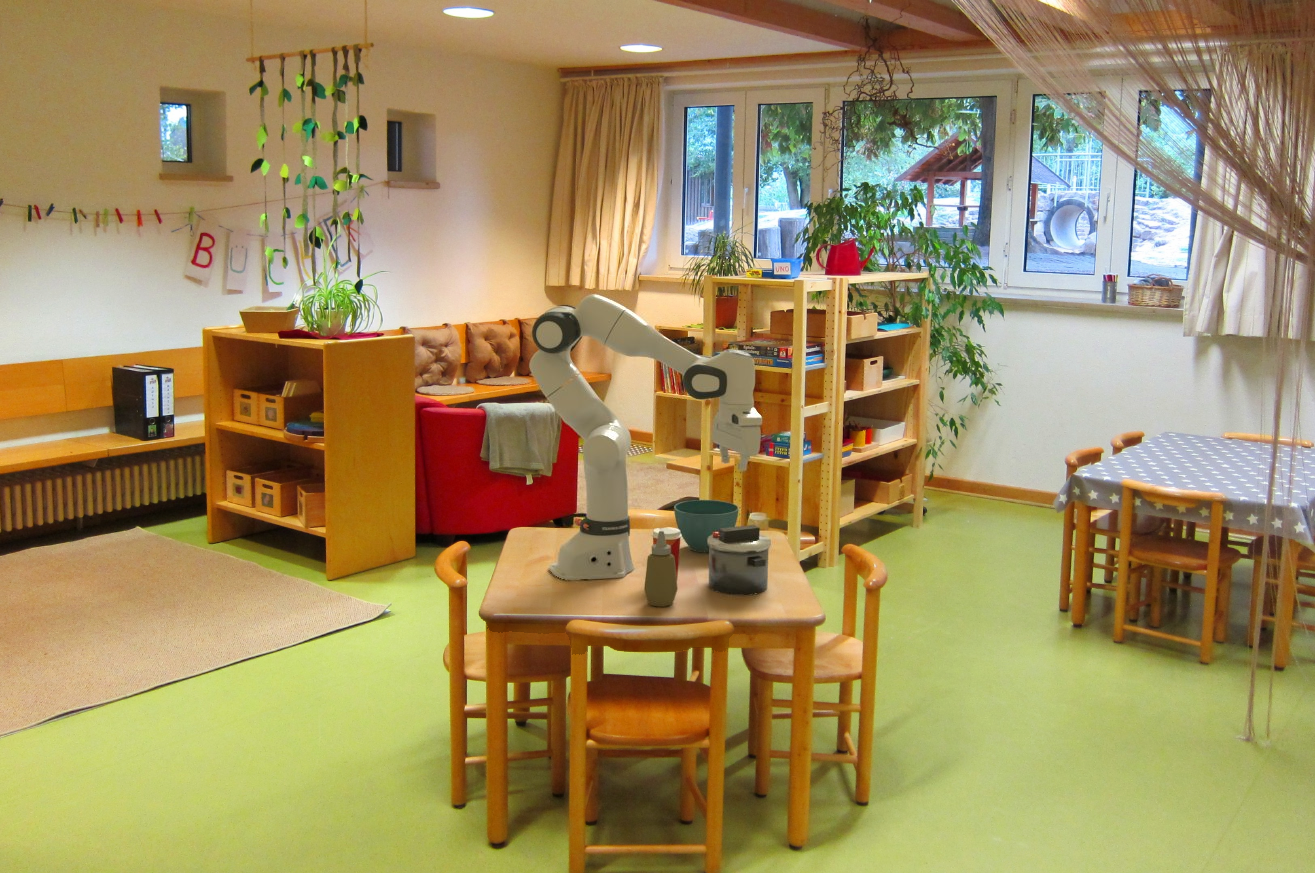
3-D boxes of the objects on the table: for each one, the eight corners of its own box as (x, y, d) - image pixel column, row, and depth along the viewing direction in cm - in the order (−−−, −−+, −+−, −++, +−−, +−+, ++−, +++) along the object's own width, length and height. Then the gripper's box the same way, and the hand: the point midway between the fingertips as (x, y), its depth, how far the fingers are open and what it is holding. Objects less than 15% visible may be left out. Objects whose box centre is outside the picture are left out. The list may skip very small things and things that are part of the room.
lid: (725, 555, 283) (726, 539, 283) (696, 539, 298) (696, 523, 297) (782, 548, 290) (783, 532, 289) (751, 533, 304) (751, 517, 304)
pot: (732, 602, 283) (733, 558, 281) (692, 577, 302) (693, 536, 300) (785, 594, 289) (786, 552, 287) (743, 570, 309) (744, 530, 307)
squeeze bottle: (651, 610, 276) (652, 537, 273) (638, 600, 283) (639, 529, 280) (682, 606, 279) (683, 534, 276) (669, 596, 287) (669, 526, 283)
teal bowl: (660, 547, 330) (660, 505, 328) (705, 536, 342) (706, 496, 340) (705, 561, 317) (705, 518, 315) (750, 549, 329) (752, 507, 327)
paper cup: (646, 580, 299) (647, 528, 297) (673, 577, 302) (674, 525, 300) (658, 589, 292) (659, 535, 290) (686, 586, 295) (687, 532, 293)
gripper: (707, 407, 303) (705, 459, 306) (743, 420, 285) (740, 475, 287) (728, 406, 306) (726, 457, 308) (765, 419, 287) (763, 474, 290)
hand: (733, 466), depth 298 cm, fingers open, 8 cm apart
